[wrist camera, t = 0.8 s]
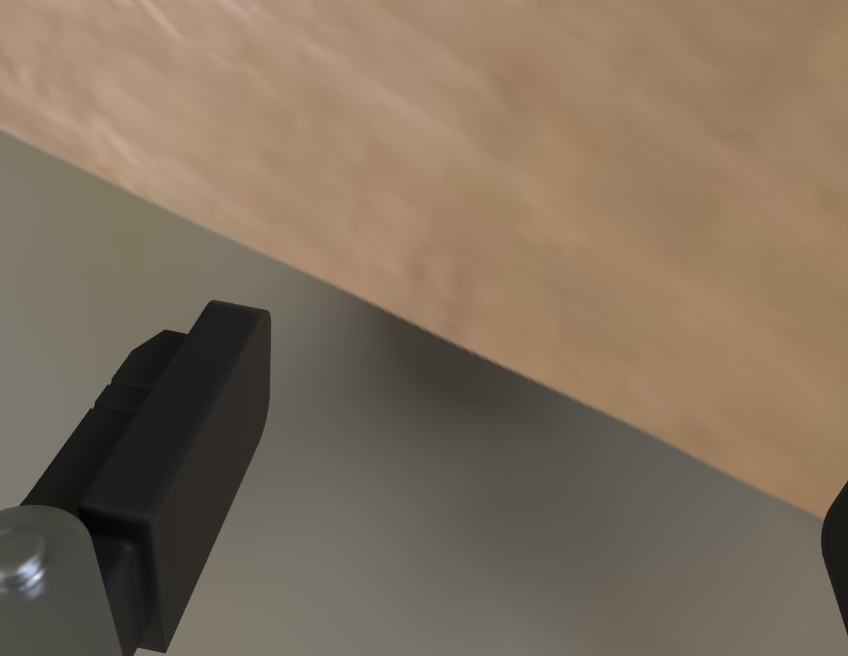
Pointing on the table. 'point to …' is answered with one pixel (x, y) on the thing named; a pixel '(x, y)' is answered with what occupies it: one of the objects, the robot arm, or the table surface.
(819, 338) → the table surface
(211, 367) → the robot arm
